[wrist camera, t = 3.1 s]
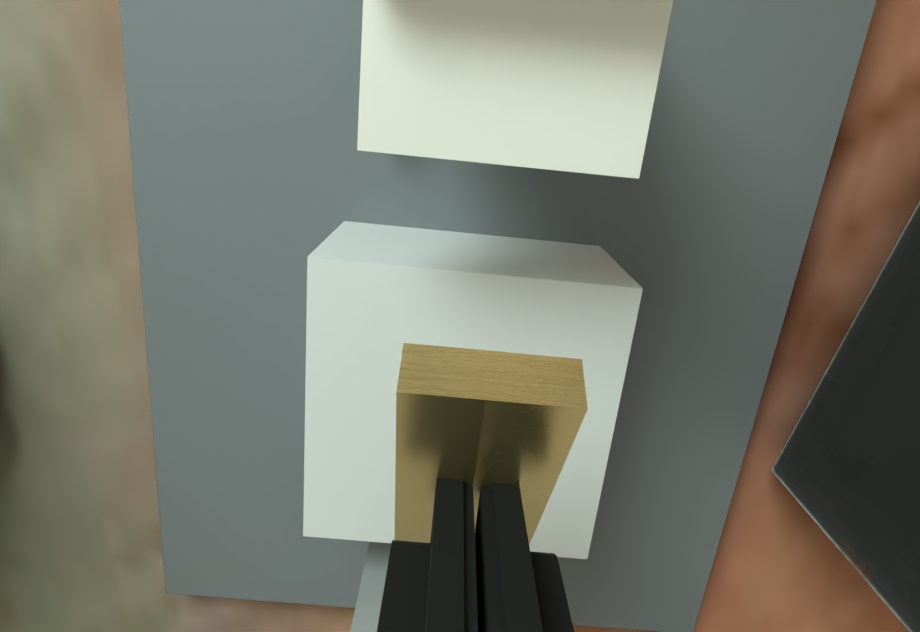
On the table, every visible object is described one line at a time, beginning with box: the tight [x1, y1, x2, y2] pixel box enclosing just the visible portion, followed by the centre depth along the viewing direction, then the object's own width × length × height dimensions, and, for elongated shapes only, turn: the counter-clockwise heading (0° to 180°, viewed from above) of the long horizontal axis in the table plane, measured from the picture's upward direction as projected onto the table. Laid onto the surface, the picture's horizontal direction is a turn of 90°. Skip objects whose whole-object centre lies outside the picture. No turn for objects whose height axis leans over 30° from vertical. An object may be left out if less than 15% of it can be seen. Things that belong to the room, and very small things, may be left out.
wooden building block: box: [394, 343, 588, 545], centre depth 16 cm, size 15×3×11 cm, turn 174°
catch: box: [357, 0, 673, 179], centre depth 16 cm, size 6×6×11 cm
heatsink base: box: [119, 0, 877, 632], centre depth 21 cm, size 31×26×10 cm
